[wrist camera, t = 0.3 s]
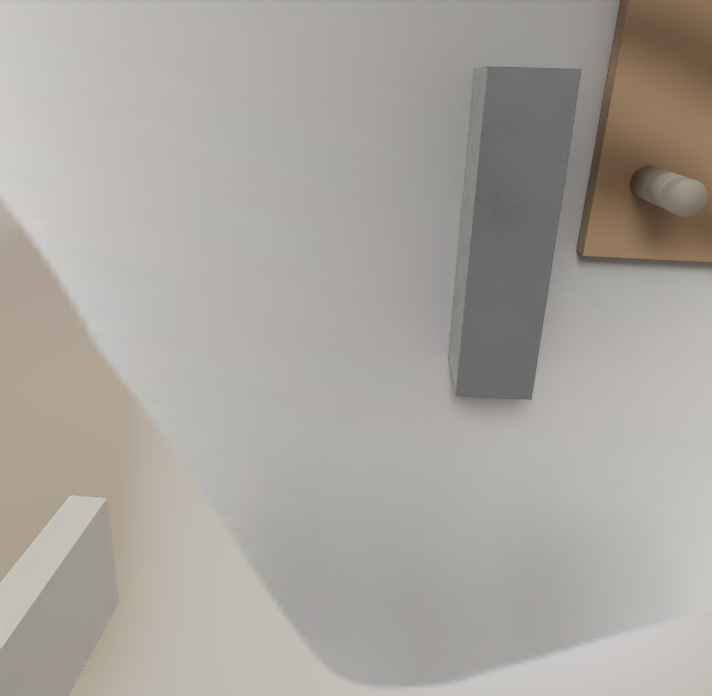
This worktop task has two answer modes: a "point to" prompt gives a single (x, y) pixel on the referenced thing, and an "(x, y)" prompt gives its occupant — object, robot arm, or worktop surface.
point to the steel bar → (509, 226)
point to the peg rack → (654, 138)
